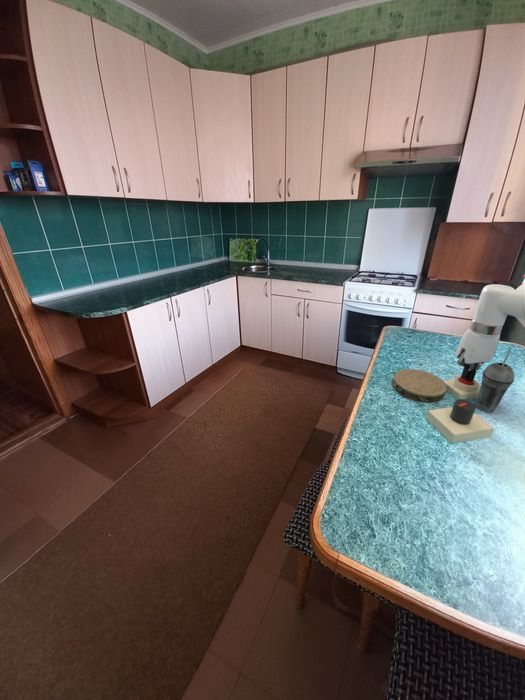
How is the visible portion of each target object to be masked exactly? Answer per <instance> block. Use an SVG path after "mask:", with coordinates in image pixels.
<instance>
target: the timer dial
mask: <svg viewBox="0 0 525 700" xmlns="http://www.w3.org/2000/svg"><path fill="white" fill-rule="evenodd" d="M452 407H453V408H452V411H451V414H450V418H451V419H452V420H453V421H455V422H456V423H459V424H463V425H467V424H469V423H470V422H471V419H472V417H473V414H474V413H475V411H476V409H477V407H476V404H475V403H473V402H471V401H470V400H469V399H457V398H456V399H455V401H454V403H453V406H452Z"/></svg>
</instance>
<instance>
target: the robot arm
mask: <svg viewBox="0 0 525 700" xmlns="http://www.w3.org/2000/svg"><path fill="white" fill-rule="evenodd" d="M508 316H512V317H516V318H517V319H518V318H519V319H522V320H525V282H523V283H521V285H519V286H517V288H516V289H515V288H514V287H512V286H510V285H506V284H496V283H494V284H493V283H492V284H487V285H485V286H484V287H483V288H482V290H481V292H480V295H479V299H478V301H477V304H476V307H475V310H474V313H473V316H472V319H471V322H470V325H469V328H467V329H466V330H465V332H464V334H463V335H462V337H461V339H460V341H459V344H458V346H457V348H456V350H455V355H454V357H455V358H456V359H457V361H456V365H458V366H460V367H463V368H462V373H461V374H460V375H461V377H462V378H463V379H464V380H466V381H467V382H470V381H473V380H475V378H476V374H477V372H478V371H479V370H480V369H481V367H482V366H483V365H484V364H488V363H489V362H490V361H492V360H493V359H494V357H495V355H496V352H497V349H498V346H499V343H500V339H501V332H502V329H503V327H504V325H505V321H506V320H507V317H508Z"/></svg>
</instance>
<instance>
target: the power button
mask: <svg viewBox="0 0 525 700" xmlns="http://www.w3.org/2000/svg"><path fill="white" fill-rule="evenodd" d="M474 380H475V379H474ZM474 380H473V381H470V382H467V381H466V380H464V379H463V378H462V377H460V378H459V382H461V383H463V384H465V385H473V383H474Z"/></svg>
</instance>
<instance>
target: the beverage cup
mask: <svg viewBox="0 0 525 700" xmlns="http://www.w3.org/2000/svg"><path fill="white" fill-rule="evenodd" d="M511 352H512V349H511V348H508V350H507V353H506V355H505V357H504V359H503V361H502V362H494V363H491V364H489V365H488V366H486V367H485V368H484V370H483V372H482V376H481V377H482V378H481V384H480V386H481V387H480V391H479V395H478V397H477V399H476V403H475V406H476V409H477V410H479V411H481V412H483V413H486V414H492V413H494V411H495V410H496V409H497V407H498V406H499V405H500V403H501V401H502V399H503V397H505V396H504V395H505V394H506V393H507V391H508V389H509V388H510V387H511V386H512V385H513V383H514V382H515V371H514V370H513V368H512V367H511V366H510V365H508V364H506V363H507V360H508V358H509V356H510V354H511Z"/></svg>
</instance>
